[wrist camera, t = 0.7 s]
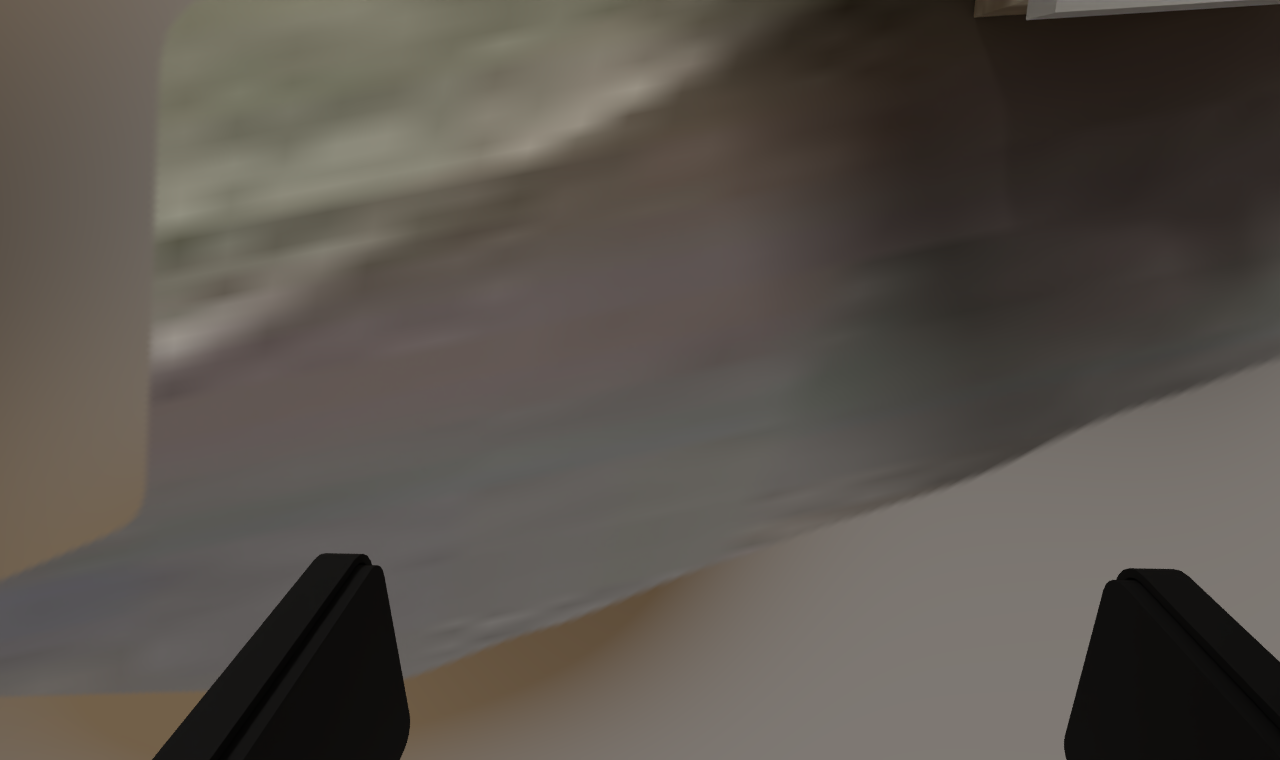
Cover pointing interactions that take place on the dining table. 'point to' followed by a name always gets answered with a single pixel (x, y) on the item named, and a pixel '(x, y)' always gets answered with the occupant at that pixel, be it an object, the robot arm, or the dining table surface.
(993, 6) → the crate
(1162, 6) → the lid
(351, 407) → the dining table surface
